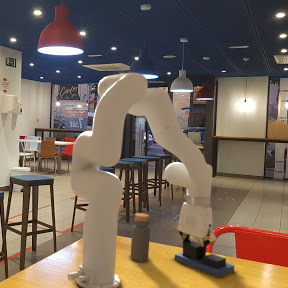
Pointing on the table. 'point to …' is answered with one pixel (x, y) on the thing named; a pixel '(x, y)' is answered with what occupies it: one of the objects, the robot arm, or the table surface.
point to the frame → (204, 266)
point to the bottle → (140, 238)
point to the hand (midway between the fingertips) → (193, 254)
